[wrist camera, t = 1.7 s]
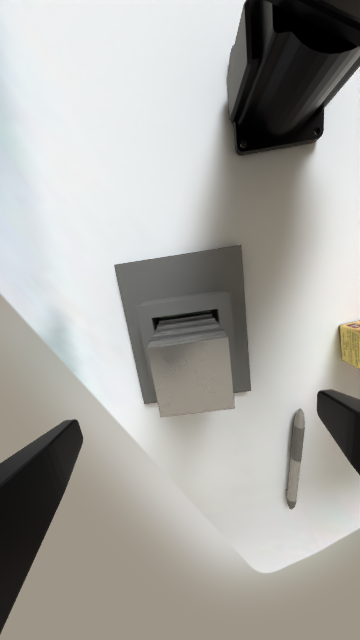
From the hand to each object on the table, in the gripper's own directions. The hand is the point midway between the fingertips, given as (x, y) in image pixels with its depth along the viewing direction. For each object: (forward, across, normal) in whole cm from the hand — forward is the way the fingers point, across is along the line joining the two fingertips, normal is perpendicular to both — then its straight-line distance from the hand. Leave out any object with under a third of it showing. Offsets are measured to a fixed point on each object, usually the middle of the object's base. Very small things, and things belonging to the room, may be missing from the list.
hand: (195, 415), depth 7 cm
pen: (+12, -10, +17) cm, 23 cm away
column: (+11, 0, 0) cm, 11 cm away
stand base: (+12, 0, 0) cm, 12 cm away
